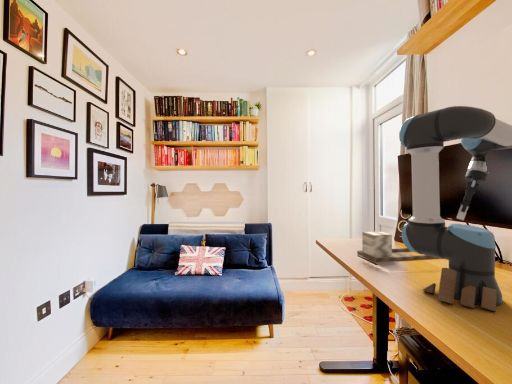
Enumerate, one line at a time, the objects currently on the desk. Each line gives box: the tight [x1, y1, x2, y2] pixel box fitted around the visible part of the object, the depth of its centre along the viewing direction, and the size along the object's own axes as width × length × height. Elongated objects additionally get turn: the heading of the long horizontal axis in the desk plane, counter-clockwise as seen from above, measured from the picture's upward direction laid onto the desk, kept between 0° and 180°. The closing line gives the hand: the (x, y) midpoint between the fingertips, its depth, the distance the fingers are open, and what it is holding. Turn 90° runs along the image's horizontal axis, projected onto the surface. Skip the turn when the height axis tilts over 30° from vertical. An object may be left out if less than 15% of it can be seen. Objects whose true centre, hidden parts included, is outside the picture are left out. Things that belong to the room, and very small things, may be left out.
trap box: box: [356, 247, 439, 266], centre depth 126 cm, size 44×15×3 cm, turn 100°
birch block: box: [361, 231, 393, 258], centre depth 123 cm, size 10×9×12 cm
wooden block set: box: [422, 267, 497, 312], centre depth 77 cm, size 18×9×10 cm, turn 43°
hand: (460, 218), depth 112 cm, fingers closed
